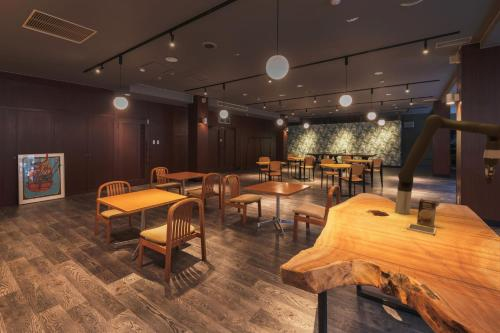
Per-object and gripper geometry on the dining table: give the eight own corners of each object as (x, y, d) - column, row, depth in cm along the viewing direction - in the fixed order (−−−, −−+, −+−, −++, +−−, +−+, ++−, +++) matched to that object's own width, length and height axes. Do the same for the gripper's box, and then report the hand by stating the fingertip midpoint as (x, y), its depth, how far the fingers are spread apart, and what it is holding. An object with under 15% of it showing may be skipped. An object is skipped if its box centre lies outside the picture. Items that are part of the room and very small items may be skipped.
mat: (406, 229, 154) (406, 228, 153) (409, 224, 163) (409, 223, 163) (434, 235, 145) (434, 233, 145) (435, 229, 154) (436, 228, 154)
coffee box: (416, 224, 164) (418, 200, 162) (418, 221, 168) (420, 198, 166) (433, 227, 158) (435, 203, 156) (434, 225, 162) (437, 201, 160)
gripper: (482, 156, 162) (479, 180, 164) (484, 157, 151) (481, 183, 153) (498, 156, 157) (495, 181, 159) (501, 158, 146) (497, 185, 148)
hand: (488, 182), depth 156 cm, fingers open, 8 cm apart
